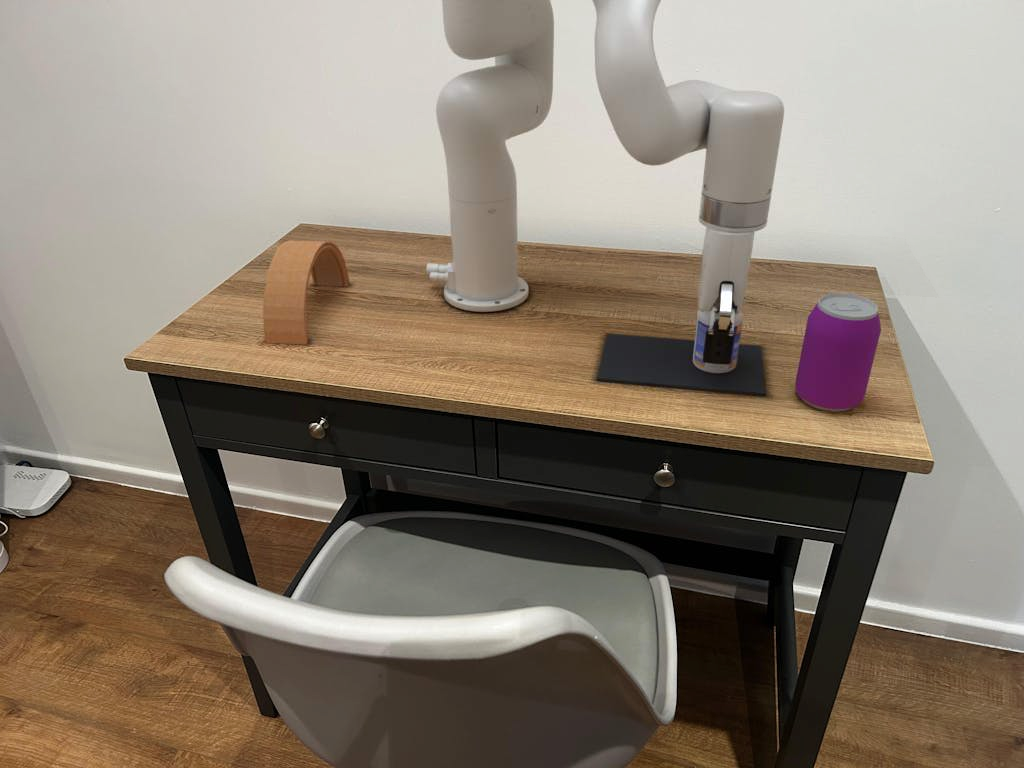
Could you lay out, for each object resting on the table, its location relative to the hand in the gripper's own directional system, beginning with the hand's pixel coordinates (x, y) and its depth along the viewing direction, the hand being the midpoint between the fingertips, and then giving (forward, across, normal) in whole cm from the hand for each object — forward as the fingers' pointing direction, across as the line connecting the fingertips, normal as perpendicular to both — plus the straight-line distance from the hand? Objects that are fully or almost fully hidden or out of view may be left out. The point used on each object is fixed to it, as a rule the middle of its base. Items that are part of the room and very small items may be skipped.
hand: (715, 343), depth 99 cm
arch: (+4, -6, -57) cm, 57 cm away
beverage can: (+3, +5, +13) cm, 14 cm away
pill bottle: (+3, 0, 0) cm, 3 cm away
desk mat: (+3, 0, -4) cm, 5 cm away
